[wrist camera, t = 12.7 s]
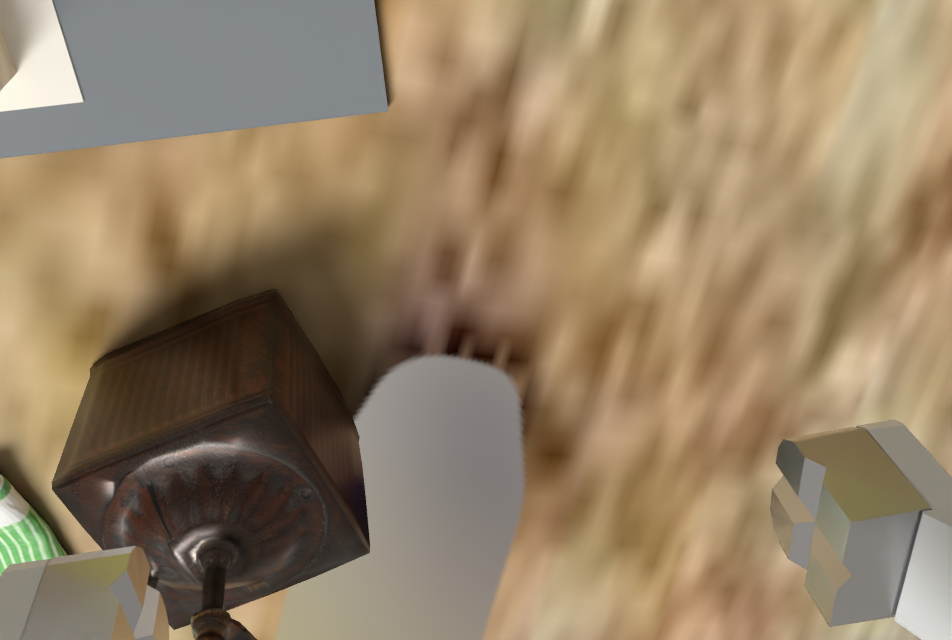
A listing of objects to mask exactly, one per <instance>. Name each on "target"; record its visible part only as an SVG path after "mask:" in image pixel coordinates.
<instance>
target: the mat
mask: <svg viewBox="0 0 952 640" xmlns="http://www.w3.org/2000/svg"><path fill="white" fill-rule="evenodd" d="M0 25H1V28H2V31H3V34H4V37H5V40H6V42H7V45H8V48H9V51H10V54H11V57H12V60H13V63H14V65H15V68H16V71H17V73H16V75H15V76H14V77H13V78H12V79H11V80H10V81H9V82H8V83H7V84H6V85H5V86H4V88H3V89H2V90H1V91H0V158H8V157H16V156H24V155H33V154H41V153H49V152H57V151H65V150H74V149H82V148H90V147H98V146H107V145H115V144H123V143H131V142H139V141H148V140H156V139H164V138H172V137H181V136H189V135H197V134H205V133H213V132H222V131H230V130H238V129H246V128H255V127H263V126H271V125H279V124H287V123H296V122H304V121H312V120H320V119H329V118H337V117H345V116H353V115H361V114H370V113H378V112H386V111H388V105H387V97H386V89H385V81H384V73H383V66H382V58H381V50H380V42H379V34H378V26H377V18H376V11H375V3H374V0H0Z"/></svg>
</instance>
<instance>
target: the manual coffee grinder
mask: <svg viewBox="0 0 952 640" xmlns="http://www.w3.org/2000/svg"><path fill="white" fill-rule="evenodd" d="M52 490H53V491H54V492H55V494H56V495H57V496H58V497H59V499H60V500H61V501H62V502H63V504H64V505H65V506H66V507H67V508H68V510H69V511H70V512H71V513H72V515H73V516H74V517H75V518H76V519H77V521H78V522H79V523H80V524H81V526H82V527H83V528H84V529H85V530H86V531H87V533H88V534H89V535H90V536H91V537H92V538H93V539H94V541H95V542H96V543H97V544H98V545H99V546H100V547H101V549H102V550H110V549H117V548H124V547H131V546H137V547H140V548H142V549H143V551H144V553H145V556H146V558H147V560H148V563H149V565H150V572H149V577H148V583H147V585H149V586H150V587H152V588H154V589H155V590H157V591H159V592H160V594H161V596H162V599H163V602H164V605H165V608H166V613H167V618H168V623H169V625H170V626H171V627H172V628H173V629H174V630H175V629H178V628H181V627H184V626H187V625H190V624H191V628H192V633H193V637H194V638H195V640H257V639H256V638H255V637H254V636H253V635H252V634H251V633H250V632H249V631H248V630H247V629H246V628H245V627H244V626H243V625H242V624H241V623H240V622H238V621H236V620H234V619H231V617H230V614H229V613H228V612H226V611H227V610H230V609H233V608H235V607H238V606H241V605H243V604H246V603H249V602H251V601H254V600H257V599H259V598H262V597H265V596H267V595H270V594H273V593H275V592H278V591H280V590H283V589H285V588H288V587H290V586H293V585H295V584H297V583H300V582H302V581H305V580H308V579H310V578H312V577H315V576H317V575H320V574H322V573H324V572H327V571H329V570H331V569H334V568H336V567H338V566H341V565H343V564H345V563H347V562H350V561H352V560H354V559H357V558H359V557H361V556H363V555H366V554H368V553H369V552H370V540H369V529H368V517H367V506H366V496H365V486H364V477H363V468H362V461H361V455H360V448H359V435H358V432H357V429H356V426H355V423H354V420H353V418H352V415H351V412H350V409H349V408H348V406H347V404H346V402H345V400H344V398H343V397H342V395H341V393H340V391H339V389H338V388H337V386H336V384H335V382H334V381H333V379H332V377H331V376H330V374H329V372H328V370H327V369H326V367H325V365H324V364H323V362H322V360H321V358H320V357H319V355H318V353H317V352H316V350H315V348H314V347H313V345H312V344H311V342H310V341H309V339H308V338H307V336H306V335H305V333H304V331H303V330H302V328H301V327H300V325H299V324H298V322H297V321H296V319H295V318H294V316H293V314H292V313H291V311H290V310H289V308H288V307H287V305H286V304H285V302H284V301H283V299H282V297H281V296H280V294H279V293H278V291H277V290H276V289H274V290H271V291H268V292H264V293H261V294H258V295H255V296H251V297H248V298H245V299H242V300H238V301H236V302H233V303H231V304H228V305H226V306H223V307H221V308H218V309H216V310H213V311H211V312H208V313H206V314H203V315H201V316H198V317H196V318H193V319H191V320H188V321H186V322H183V323H181V324H178V325H176V326H174V327H171V328H169V329H166V330H164V331H161V332H159V333H156V334H154V335H151V336H149V337H146V338H144V339H141V340H139V341H137V342H134V343H132V344H129V345H127V346H125V347H122V348H120V349H118V350H115V351H113V352H110V353H108V354H106V355H105V356H104V357H103V358H101V359H100V360H99V361H98V362H97V363H96V364H95V365H93V366H92V367H91V368H90V378H89V381H88V384H87V386H86V389H85V392H84V395H83V397H82V400H81V403H80V406H79V408H78V411H77V414H76V417H75V419H74V422H73V425H72V428H71V430H70V433H69V436H68V439H67V442H66V445H65V447H64V450H63V453H62V456H61V459H60V462H59V464H58V467H57V470H56V473H55V476H54V478H53V481H52Z"/></svg>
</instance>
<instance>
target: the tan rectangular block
mask: <svg viewBox="0 0 952 640" xmlns="http://www.w3.org/2000/svg"><path fill="white" fill-rule="evenodd" d="M16 73H17V71H16V68H15V65H14V63H13V60H12V57H11V54H10V51H9V48H8V45H7V42H6V40H5V37H4V34H3V31H2V28H1V25H0V91H1V90H2V89H3V88H4V86H5V85H6V84H7V83H8V82H9V81H10V80H11V79H12V78H13V77H14V76H15V75H16Z"/></svg>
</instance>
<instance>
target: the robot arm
mask: <svg viewBox="0 0 952 640" xmlns="http://www.w3.org/2000/svg"><path fill="white" fill-rule="evenodd" d="M776 464H777V466H778V467H779V469H780V470H781V472H782V473H783V475H784V476H783V477H782V478H781V479H780V480H779V481H778V483H777V484H776V485H775V486H774V487H773V488H772V496H771V506H770V509H771V515H772V521H773V527H774V531H775V533H776V536H777V538H778V541H779V544H780V545H781V547H782V549H783V551H784V552H785V554H786V556H787V558H788V559H789V560H791V561H793V562H794V563H796V564H798V565H800V566H801V567H803V568H805V569H806V570H807V573H806V579H805V585H804V586H805V588H806V589H807V591H808V593H809V594H810V596H811V598H812V599H813V601H814V602H815V604H816V606H817V607H818V609H819V611H820V612H821V614H822V616H823V617H824V619H825V621H826V622H827V624H828V625H829V627H832V626H839V625H845V624H851V623H858V622H864V621H871V620H877V619H883V618H890V617H895V618H894V620H895V621H896V622H897V623H899V624H900V625H902V626H903V627H905V628H906V629H907V630H909V631H910V632H912V633H913V634H915V635H916V636H917V637H919V638H920V639H922V640H952V477H951V476H950V475H949V474H948V473H947V472H946V470H945V469H944V468H943V467H942V466H941V465H940V464H939V463H938V462H937V461H936V459H935V458H934V457H933V456H932V455H931V454H930V453H929V452H928V451H927V450H926V448H925V447H924V446H923V445H922V444H921V443H920V442H919V441H918V440H917V438H916V437H915V436H914V435H913V434H912V433H911V432H910V431H909V430H908V429H907V427H906V426H905V425H904V424H903V423H900V422H898V421H896V420H888V421H883V422H877V423H872V424H866V425H860V426H857V427H851V428H845V429H839V430H834V431H828V432H822V433H816V434H810V435H805V436H799V437H793V438H787V439H783V440H782V442H781V444H780V446H779V447H778V452H777V458H776ZM149 572H150V565H149V563H148V560H147V558H146V556H145V553H144V551H143V549H142V548H140V547H137V546H131V547H124V548H117V549H110V550H102V551H95V552H88V553H81V554H74V555H67V556H60V557H53V558H52V559H46V560H38V561H31V562H23V563H16V564H10V565H9V566H8V567H7V568H6V569H5V570H4V571H3V572H2V574H1V575H0V640H169V623H168V618H167V613H166V608H165V605H164V602H163V599H162V596H161V594H160V592H159V591H157V590H155V589H154V588H152V587H150V586H149V585H147V583H148V577H149Z"/></svg>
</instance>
